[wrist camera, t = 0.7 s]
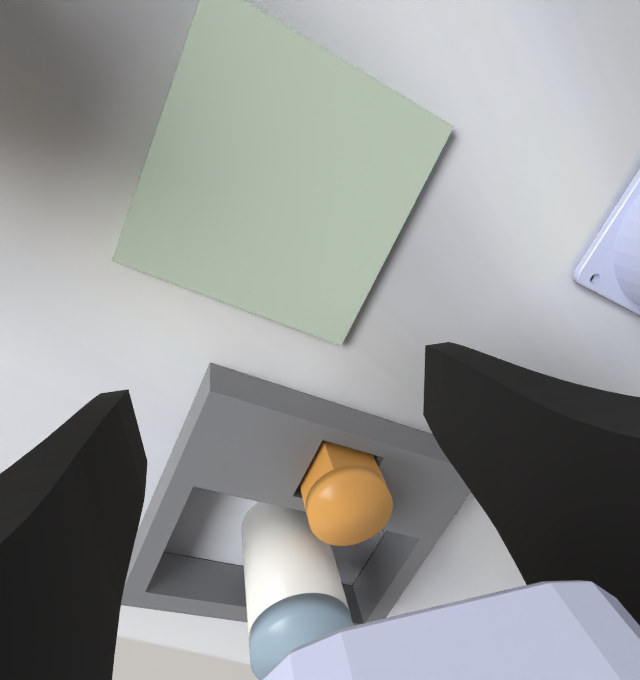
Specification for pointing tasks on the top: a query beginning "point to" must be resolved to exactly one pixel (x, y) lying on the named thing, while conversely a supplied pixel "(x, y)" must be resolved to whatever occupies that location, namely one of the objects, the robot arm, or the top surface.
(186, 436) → the dock
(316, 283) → the mat
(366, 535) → the plunger
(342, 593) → the cylinder
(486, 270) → the top surface
